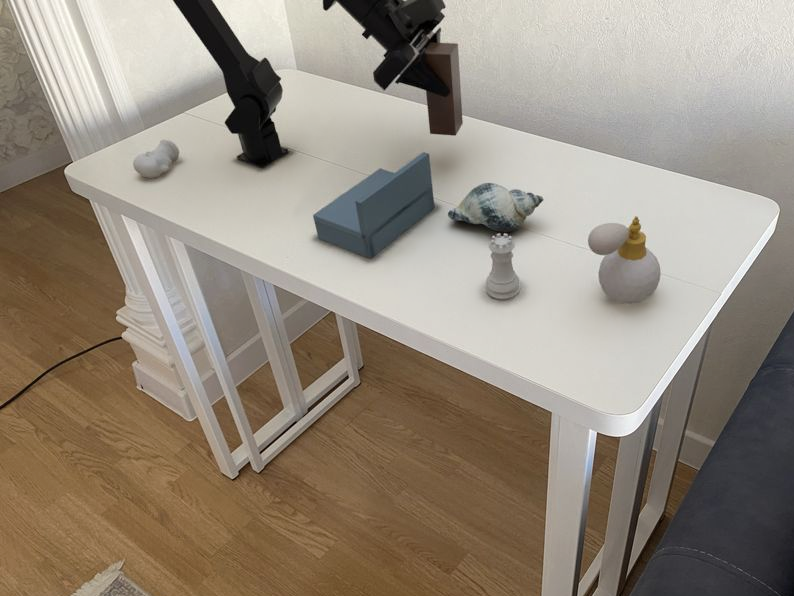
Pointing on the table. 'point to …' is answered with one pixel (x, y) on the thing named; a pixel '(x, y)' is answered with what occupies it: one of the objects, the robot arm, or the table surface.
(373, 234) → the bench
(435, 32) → the robot arm
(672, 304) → the table surface
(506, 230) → the seashell
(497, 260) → the rook chess piece
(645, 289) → the perfume bottle
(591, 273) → the table surface
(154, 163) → the smooth white sculpture
